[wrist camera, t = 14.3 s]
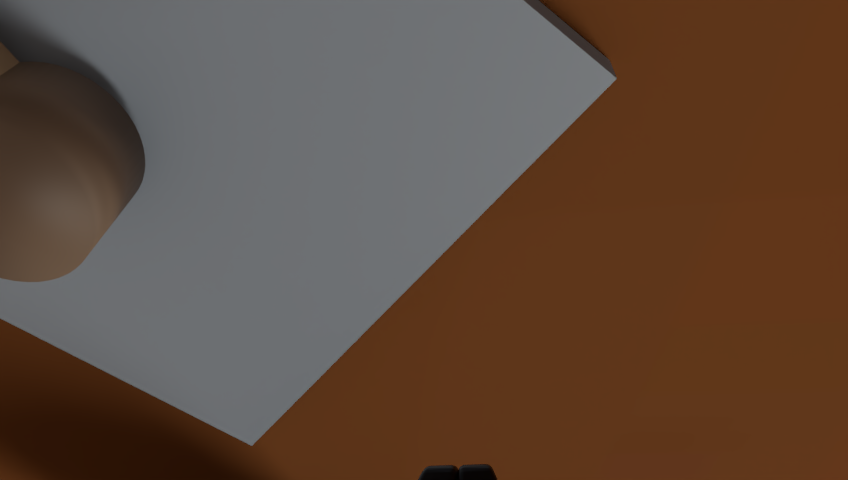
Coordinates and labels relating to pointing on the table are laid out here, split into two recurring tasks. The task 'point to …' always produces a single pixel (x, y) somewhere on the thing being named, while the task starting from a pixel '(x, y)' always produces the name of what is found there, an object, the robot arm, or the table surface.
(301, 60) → the board
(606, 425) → the table surface
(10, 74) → the peg lever
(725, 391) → the table surface
